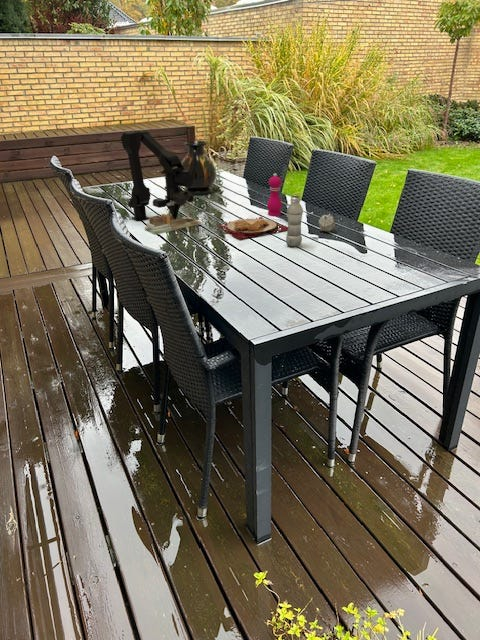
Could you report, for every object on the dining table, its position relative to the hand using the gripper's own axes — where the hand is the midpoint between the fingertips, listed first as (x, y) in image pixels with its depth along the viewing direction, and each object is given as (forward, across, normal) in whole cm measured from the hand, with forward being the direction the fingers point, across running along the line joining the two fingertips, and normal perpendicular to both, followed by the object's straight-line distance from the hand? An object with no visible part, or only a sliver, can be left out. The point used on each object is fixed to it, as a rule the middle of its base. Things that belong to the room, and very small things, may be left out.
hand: (175, 218), depth 224 cm
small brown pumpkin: (+4, +47, -51) cm, 69 cm away
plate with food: (+4, +24, -25) cm, 35 cm away
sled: (+2, -9, 0) cm, 9 cm away
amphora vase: (+4, +46, +50) cm, 68 cm away
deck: (+4, -2, 0) cm, 4 cm away
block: (+1, -10, 0) cm, 10 cm away
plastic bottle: (+4, +23, -55) cm, 60 cm away
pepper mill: (+4, +48, -15) cm, 51 cm away
